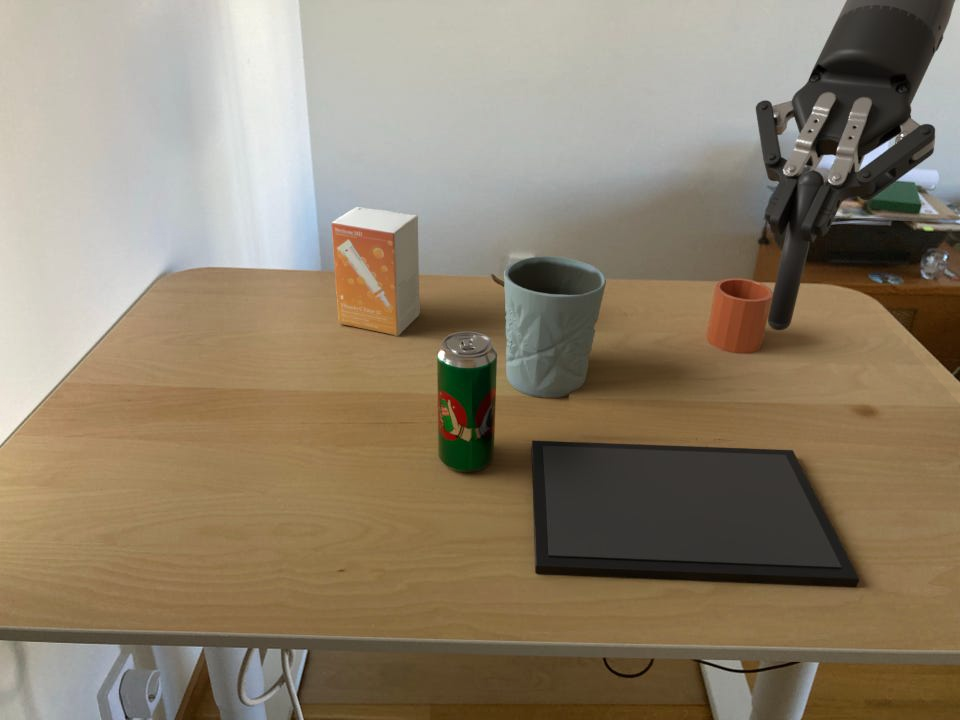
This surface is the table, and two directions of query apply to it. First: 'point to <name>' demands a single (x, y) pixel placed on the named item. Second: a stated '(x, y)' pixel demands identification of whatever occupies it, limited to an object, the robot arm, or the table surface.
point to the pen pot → (739, 315)
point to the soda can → (466, 401)
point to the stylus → (793, 253)
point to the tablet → (681, 515)
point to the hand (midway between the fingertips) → (791, 231)
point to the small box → (376, 269)
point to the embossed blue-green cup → (550, 323)
